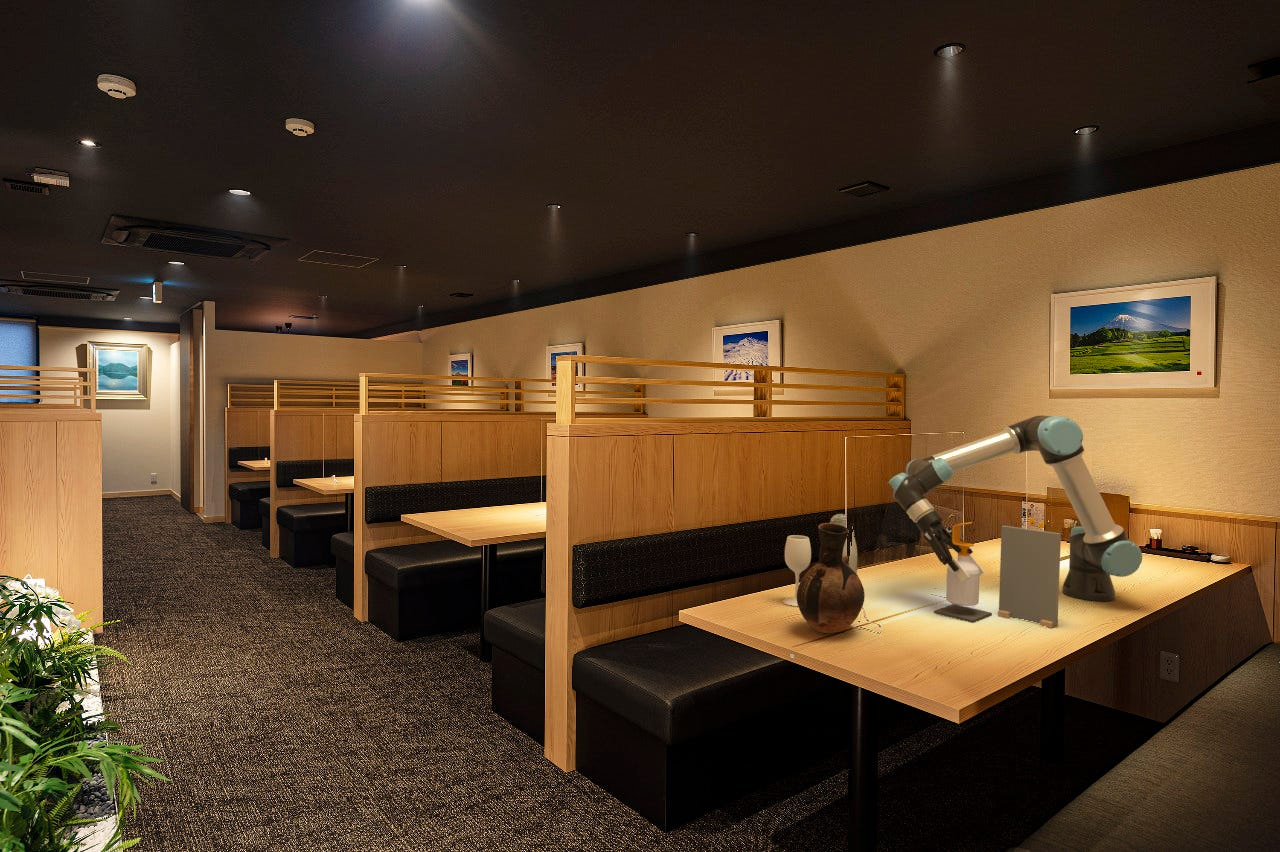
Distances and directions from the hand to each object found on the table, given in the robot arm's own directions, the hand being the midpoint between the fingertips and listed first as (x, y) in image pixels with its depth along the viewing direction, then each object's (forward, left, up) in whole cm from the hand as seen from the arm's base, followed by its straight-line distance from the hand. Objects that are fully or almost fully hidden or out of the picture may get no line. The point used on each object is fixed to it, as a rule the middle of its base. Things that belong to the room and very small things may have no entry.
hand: (973, 577), depth 222 cm
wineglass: (+30, -42, -12) cm, 53 cm away
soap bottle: (0, -3, -8) cm, 9 cm away
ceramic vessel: (+45, -19, -12) cm, 50 cm away
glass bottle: (+17, -35, -12) cm, 41 cm away
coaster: (0, -3, -12) cm, 12 cm away
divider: (-9, +12, -12) cm, 19 cm away
